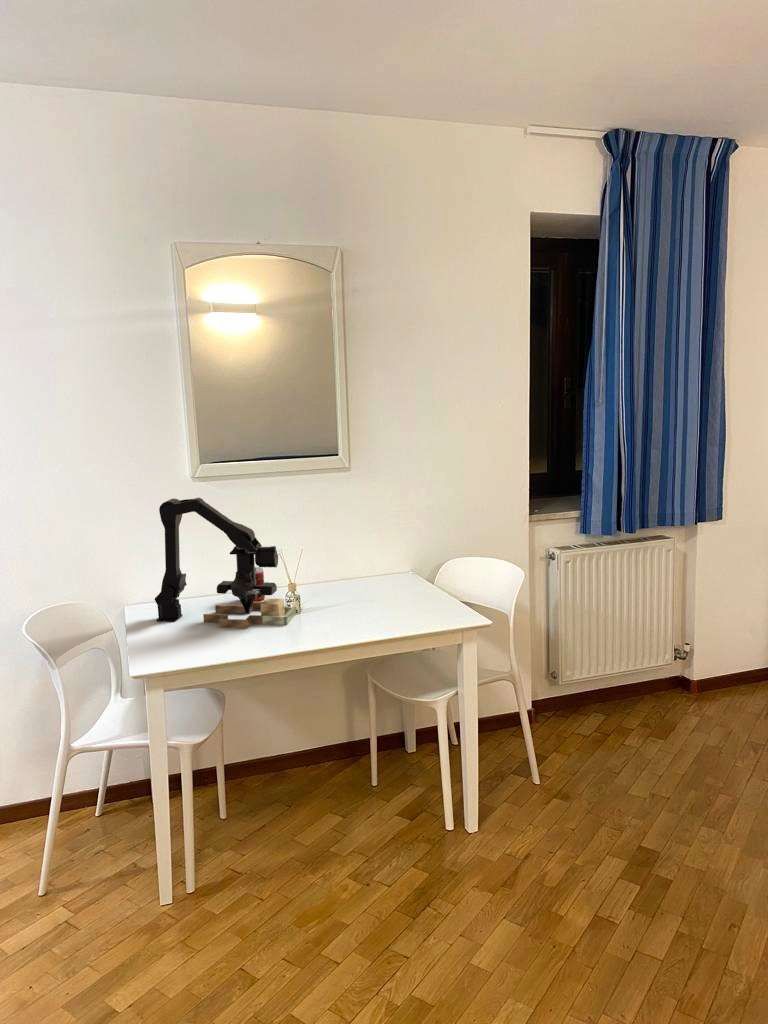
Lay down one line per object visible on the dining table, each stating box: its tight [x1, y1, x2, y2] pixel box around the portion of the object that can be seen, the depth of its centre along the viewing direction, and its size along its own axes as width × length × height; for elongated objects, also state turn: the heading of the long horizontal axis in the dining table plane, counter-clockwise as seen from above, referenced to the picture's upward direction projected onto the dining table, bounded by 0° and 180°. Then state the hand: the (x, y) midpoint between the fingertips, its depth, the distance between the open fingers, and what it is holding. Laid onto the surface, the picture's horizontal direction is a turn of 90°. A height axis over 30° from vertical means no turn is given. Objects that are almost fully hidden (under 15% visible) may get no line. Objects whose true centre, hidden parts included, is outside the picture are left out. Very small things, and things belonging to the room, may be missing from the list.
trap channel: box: [203, 601, 298, 629], centre depth 249 cm, size 28×20×2 cm
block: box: [260, 598, 285, 616], centre depth 247 cm, size 6×6×6 cm
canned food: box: [248, 566, 266, 602], centre depth 268 cm, size 8×8×11 cm
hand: (247, 613), depth 249 cm, fingers closed
